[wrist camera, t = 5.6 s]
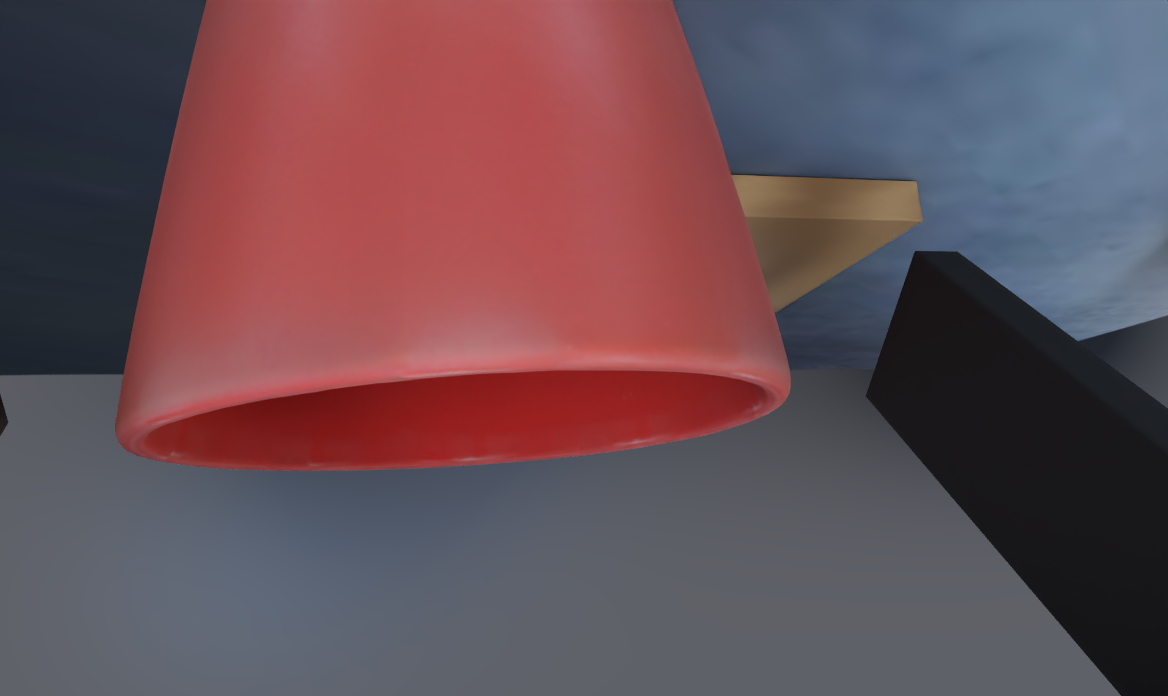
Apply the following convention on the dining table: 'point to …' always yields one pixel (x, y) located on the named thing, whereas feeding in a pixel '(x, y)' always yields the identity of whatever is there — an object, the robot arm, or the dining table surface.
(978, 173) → the dining table surface
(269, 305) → the flower pot
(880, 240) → the wooden trivet
